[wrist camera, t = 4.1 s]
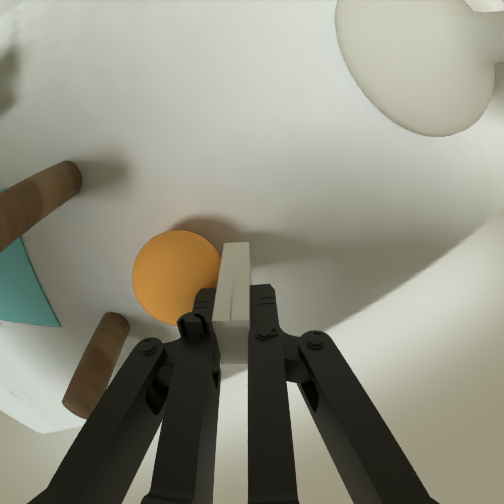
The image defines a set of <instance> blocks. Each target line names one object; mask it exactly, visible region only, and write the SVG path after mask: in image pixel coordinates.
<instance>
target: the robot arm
mask: <svg viewBox="0 0 504 504" xmlns="http://www.w3.org/2000/svg"><path fill="white" fill-rule="evenodd" d="M176 323H177V326H178V329H179V332H180V335H181V338H179V339H178V340H175V341H172V342H168V343H164V344H163V343H162V342H161V341H160V340H159V339H157V338H146V339H143V340H142V341H140V342H139V343H138V344H137V345H136V346H135V347H134V349H133V350H132V352H131V353H130V355H129V356H128V358H127V359H126V361H125V362H124V364H123V365H122V367H121V368H120V370H119V371H118V373H117V374H116V376H115V377H114V379H113V380H112V382H111V383H110V385H109V386H108V388H107V389H106V391H105V393H104V394H103V396H102V397H101V399H100V400H99V402H98V403H97V405H96V407H95V408H94V410H93V411H92V413H91V414H90V416H89V418H88V419H87V421H86V422H85V424H84V426H83V427H82V429H81V431H80V432H79V434H78V436H77V437H76V439H75V441H74V442H73V444H72V445H71V447H70V449H69V450H68V452H67V454H66V455H65V457H64V459H63V461H62V462H61V464H60V466H59V468H58V470H57V471H56V473H55V474H54V476H53V478H52V480H51V482H50V483H49V485H48V487H47V488H46V489H45V490H44V491H43V492H41V493H40V494H39V495H38V496H36V497H35V498H34V499H32V500H31V501H30V502H29V503H27V504H121V503H122V502H123V499H124V497H125V496H126V493H127V491H128V489H129V487H130V485H131V483H132V481H133V479H134V477H135V475H136V473H137V471H138V469H139V467H140V465H141V462H142V460H143V458H144V456H145V454H146V452H147V450H148V448H149V446H150V444H151V442H152V440H153V438H154V436H155V434H156V432H157V430H158V428H159V426H160V423H161V422H162V426H161V432H160V436H159V442H158V448H157V453H156V459H155V464H154V471H153V477H152V483H151V488H150V491H149V493H148V494H147V495H145V496H144V498H143V499H142V501H141V504H213V485H214V468H215V451H216V436H217V422H218V408H219V407H218V406H219V395H220V382H221V370H220V359H221V364H242V363H248V504H299V501H298V495H297V483H296V472H295V461H294V451H293V441H292V430H291V420H290V411H289V402H288V392H287V383H286V381H290V382H295V383H297V385H298V387H299V390H300V392H301V394H302V396H303V398H304V400H305V402H306V405H307V406H308V409H309V410H310V413H311V415H312V417H313V420H314V422H315V424H316V426H317V428H318V430H319V432H320V434H321V436H322V438H323V441H324V443H325V445H326V447H327V449H328V451H329V453H330V455H331V458H332V460H333V461H334V464H335V466H336V468H337V470H338V472H339V474H340V476H341V478H342V480H343V482H344V484H345V486H346V489H347V491H348V493H349V495H350V497H351V499H352V501H353V503H354V504H439V503H438V502H436V501H435V500H434V499H432V498H431V497H430V496H429V494H428V493H427V491H426V489H425V487H424V486H423V484H422V482H421V481H420V479H419V478H418V476H417V474H416V472H415V471H414V469H413V467H412V466H411V464H410V462H409V461H408V459H407V458H406V456H405V454H404V453H403V451H402V449H401V448H400V446H399V444H398V443H397V441H396V440H395V438H394V436H393V435H392V433H391V431H390V430H389V428H388V427H387V425H386V423H385V422H384V420H383V419H382V417H381V415H380V414H379V412H378V411H377V409H376V407H375V406H374V404H373V403H372V401H371V399H370V398H369V396H368V395H367V393H366V392H365V390H364V389H363V387H362V385H361V384H360V382H359V381H358V379H357V377H356V376H355V374H354V373H353V371H352V370H351V368H350V367H349V365H348V363H347V362H346V360H345V359H344V357H343V356H342V354H341V353H340V351H339V350H338V348H337V346H336V345H335V343H334V342H333V341H332V339H331V338H330V336H329V335H328V334H326V333H324V332H322V331H316V330H314V331H309V332H306V333H304V334H303V335H302V336H301V337H297V336H292V335H289V334H286V333H285V332H283V331H282V330H281V328H280V326H279V322H278V313H277V305H276V297H275V290H274V288H273V287H272V286H271V285H270V284H261V285H252V273H251V261H250V249H249V242H235V243H224V246H223V253H222V259H221V265H220V271H219V277H218V284H217V288H201V289H200V291H199V292H198V293H197V294H196V296H195V300H194V305H193V309H192V312H188V313H186V314H183V315H182V316H181V317H180V318H179V319H178V320H177V322H176ZM162 420H163V421H162Z"/></svg>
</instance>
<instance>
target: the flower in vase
mask: <svg viewBox="0 0 504 504" xmlns="http://www.w3.org/2000/svg"><path fill="white" fill-rule="evenodd" d="M335 28H336V36H337V40H338V44H339V48H340V50H341V53H342V56H343V59H344V61H345V63H346V65H347V67H348V69H349V71H350V73H351V75H352V76H353V78H354V80H355V81H356V83H357V85H358V86H359V87H360V89H361V90H362V91H363V93H364V94H365V96H366V97H367V98H368V99H369V100H370V101H371V102H372V103H373V104H374V106H375V107H377V108H378V109H379V110H380V111H381V112H382V113H383V114H384V115H385V116H387V117H388V118H389V119H391V120H392V121H393V122H395V123H397V124H398V125H400V126H402V127H403V128H405V129H407V130H410V131H412V132H414V133H417V134H421V135H424V136H431V137H444V136H449V135H453V134H456V133H458V132H461V131H464V130H466V129H468V128H469V127H471V126H472V125H473V124H475V123H476V122H477V121H478V120H479V119H480V117H481V116H482V115H483V113H484V112H485V110H486V108H487V106H488V103H489V101H490V98H491V96H492V93H493V89H494V83H495V64H496V63H500V62H504V11H500V12H488V13H481V12H474V11H473V10H472V9H471V8H470V7H469V5H468V4H467V3H466V2H465V1H464V0H337V4H336V9H335Z"/></svg>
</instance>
